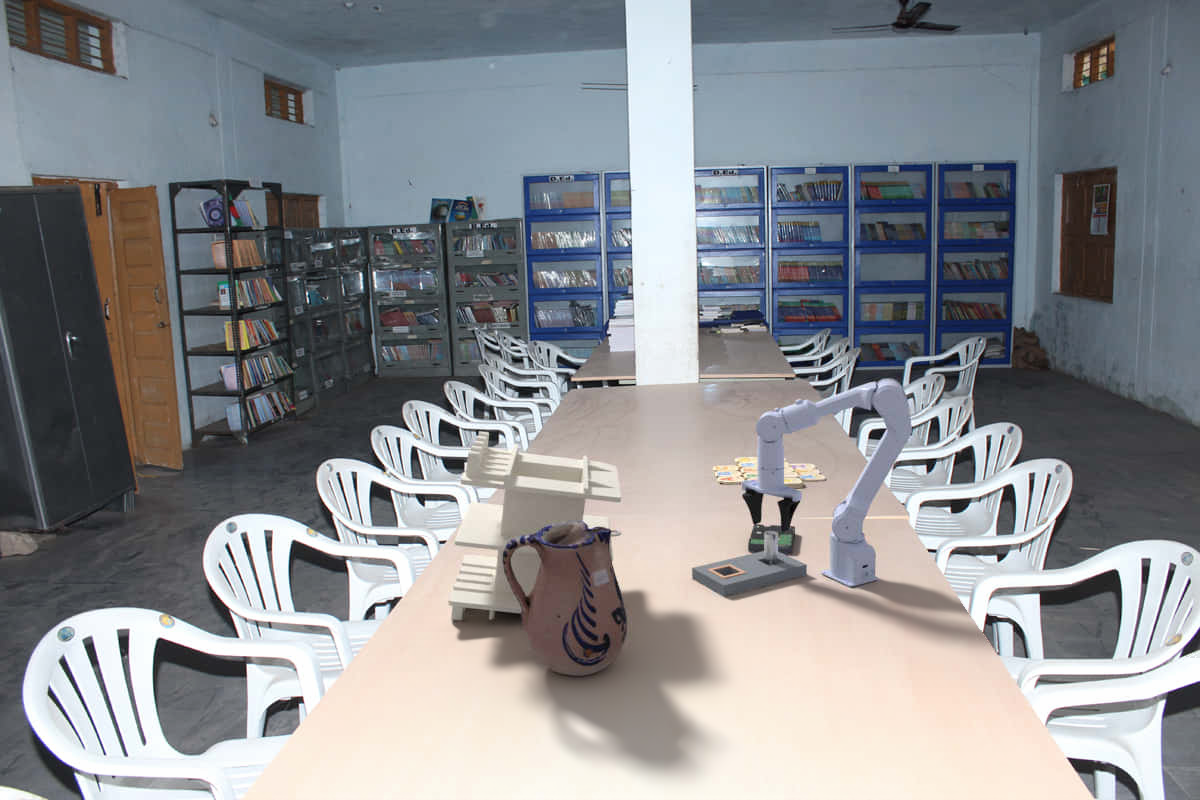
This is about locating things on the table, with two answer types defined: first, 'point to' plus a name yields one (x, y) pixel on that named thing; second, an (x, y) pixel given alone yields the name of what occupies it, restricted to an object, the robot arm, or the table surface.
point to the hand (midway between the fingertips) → (771, 526)
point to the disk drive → (783, 538)
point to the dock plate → (747, 573)
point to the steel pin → (771, 547)
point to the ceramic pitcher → (571, 598)
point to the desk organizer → (520, 517)
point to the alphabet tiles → (750, 472)
